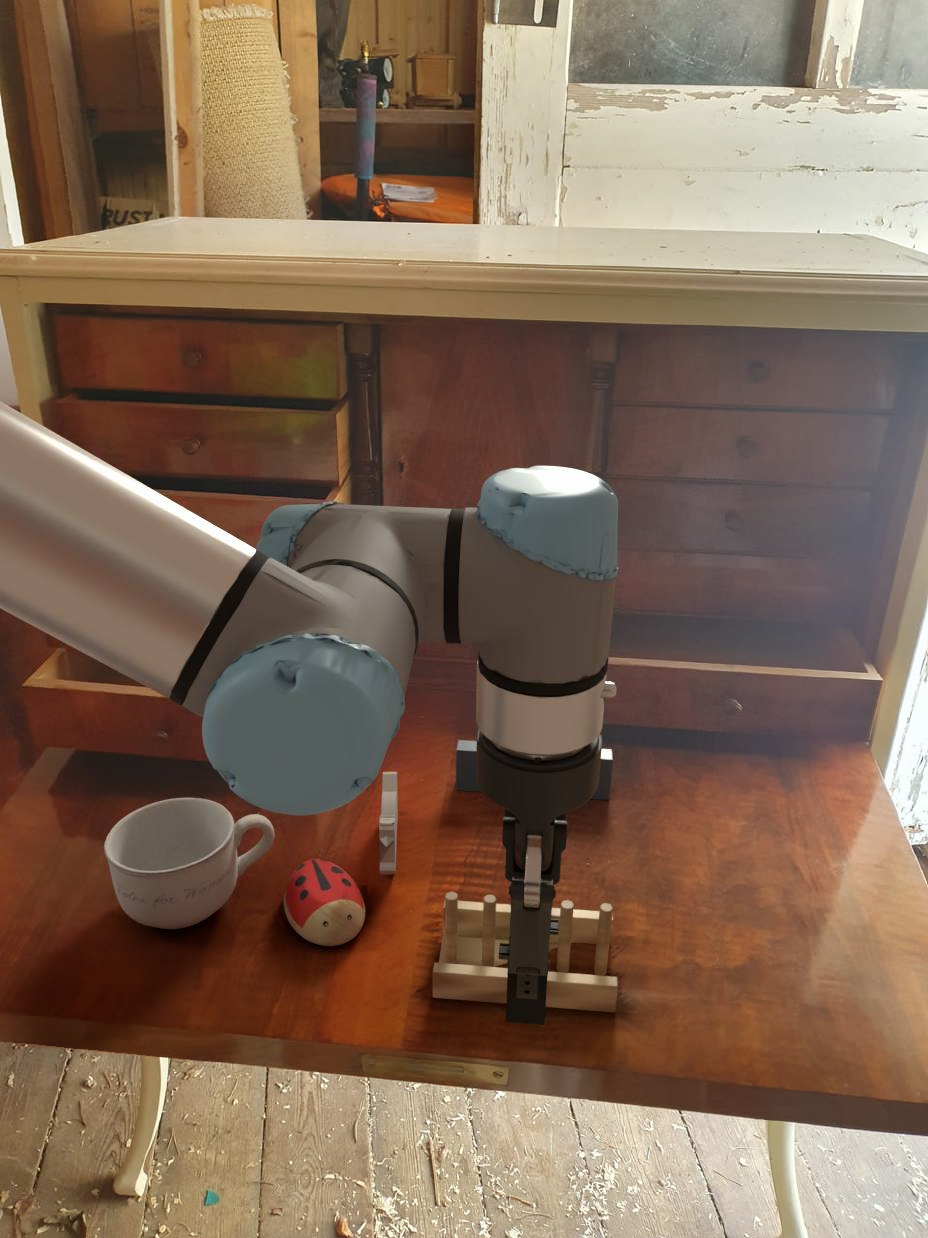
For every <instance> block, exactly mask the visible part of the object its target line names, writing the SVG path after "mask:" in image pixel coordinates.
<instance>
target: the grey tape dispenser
mask: <svg viewBox="0 0 928 1238" xmlns="http://www.w3.org/2000/svg"><path fill="white" fill-rule="evenodd" d="M381 780H382V782H381V783H382V785H381V805H380V807H381V809H380V810H381V811H380V814H379V818H378V819H379V821H378V822H379V823H378V840H379V841H378V842H379V844H378V845H379V875H396V872H397V871H396V868H397V845H398V841H397V839H398V832H397V831H398V822H399V808H398V807H399V806H398V805H399V803H398V797H399V796H398V771H382V779H381Z"/></svg>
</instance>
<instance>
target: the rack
mask: <svg viewBox="0 0 928 1238" xmlns="http://www.w3.org/2000/svg"><path fill="white" fill-rule="evenodd" d="M574 907H575V904H574V902H573V901H571V900H568V899H565V900H562V902H561V903H560V907H552V913H551V919H559V922H558V923H559V928H558V935H552V934H550V940H549V951H551V950H554V949H557V953H556V965H555V969H556V971H548V977H547V993H546V1008H555V1009H557V1008H558V1009H568V1010H580V1011H593V1012H605V1013H615V1012H616V1008H617V998H618V990H619V984H618V983H619V981H618V977H617V976H609V975H607V972H608V964H609V963H608V960H609V953H610V952H609V951H610V946H612V940H613V939H612V938H613V928H614V907H613V905H612V904H610V903H607V902H604V903H601V904H600V906H599V910H589V909H575V908H574ZM510 918H511V904H509V903H508V904H507V903H497V897H496V896H495V895H493V894H486V895H484V896H483V901H481V902H480V901H467V900H459V895H458V894H457V893H456V892H454V891H448V892H446V894H445V895H444V900H443V906H442V937H441V938H442V939H441V945H440V952H439V959H438V962H434V963H433V967H432V998H434V999H446V1000H447V999H448V1000H458V1001H459V1000H460V1001H471V1002H482V1003H483V1002H484V1003H493V1004H494V1003H495V1004H506V1001H507V974H508V967H499V966H502V965H505V964H506V965H507V960H504V959H499V946H500V943H508V944H509V936H510ZM573 943H576V944H577V943H579V944H592V945H595V953H594V954H595V955H594V965H593V973H594V974H585V973H571V972H569V970H570V959H571V949H572V947H571V946H572V944H573Z"/></svg>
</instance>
